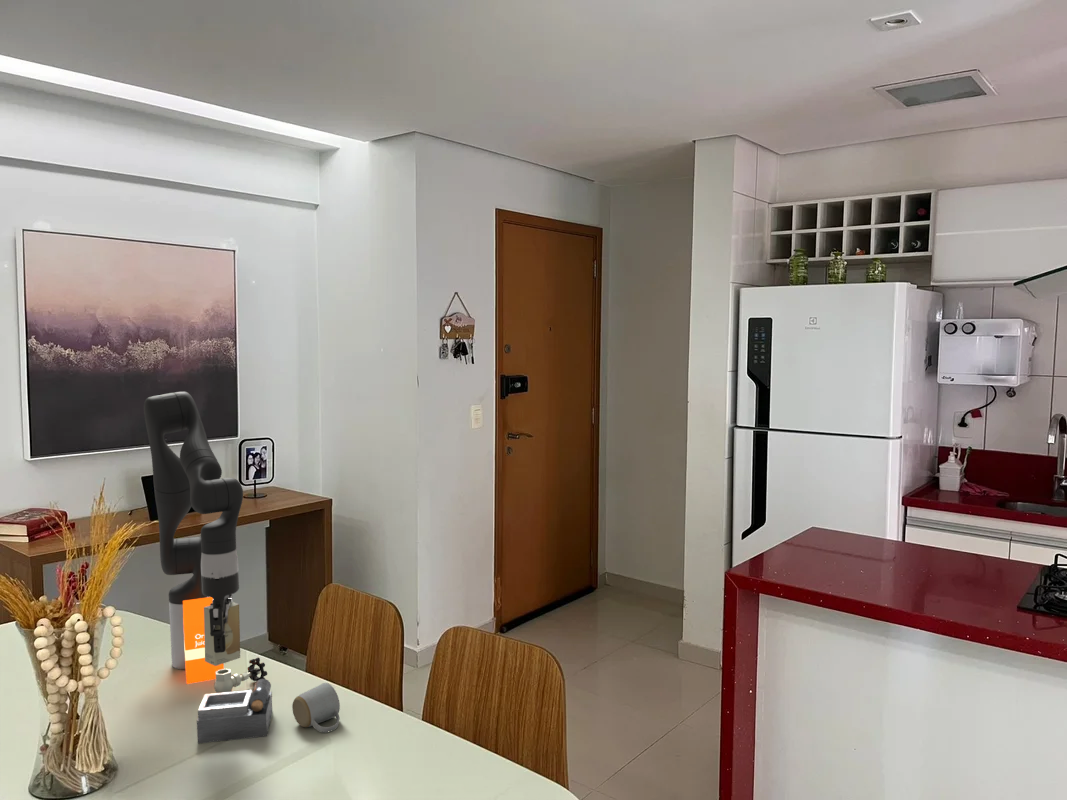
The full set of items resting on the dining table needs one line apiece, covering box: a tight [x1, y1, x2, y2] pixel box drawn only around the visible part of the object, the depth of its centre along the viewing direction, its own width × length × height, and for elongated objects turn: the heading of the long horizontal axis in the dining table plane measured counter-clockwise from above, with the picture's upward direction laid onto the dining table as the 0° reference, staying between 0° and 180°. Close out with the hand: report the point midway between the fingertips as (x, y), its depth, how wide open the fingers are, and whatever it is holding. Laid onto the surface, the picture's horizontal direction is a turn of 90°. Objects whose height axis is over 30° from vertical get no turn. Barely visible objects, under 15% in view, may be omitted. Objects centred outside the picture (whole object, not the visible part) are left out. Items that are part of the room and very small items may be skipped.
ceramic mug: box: [291, 682, 341, 733], centre depth 181 cm, size 11×8×8 cm
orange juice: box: [183, 596, 225, 685], centre depth 206 cm, size 8×9×20 cm
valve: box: [213, 657, 268, 693], centre depth 197 cm, size 7×7×12 cm
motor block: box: [196, 678, 273, 744], centre depth 179 cm, size 11×14×9 cm
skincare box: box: [204, 601, 241, 666], centre depth 177 cm, size 6×4×12 cm
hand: (223, 644), depth 178 cm, fingers closed on skincare box, 7 cm apart
